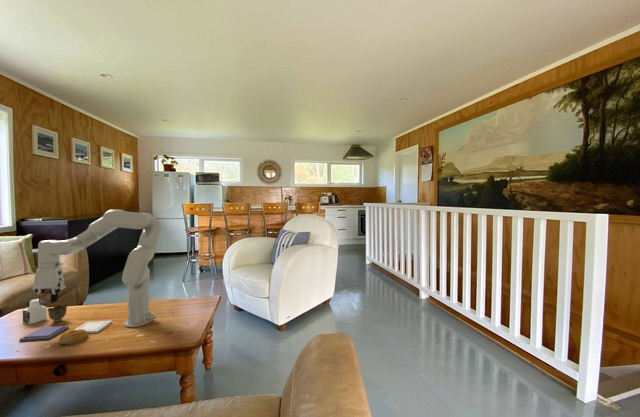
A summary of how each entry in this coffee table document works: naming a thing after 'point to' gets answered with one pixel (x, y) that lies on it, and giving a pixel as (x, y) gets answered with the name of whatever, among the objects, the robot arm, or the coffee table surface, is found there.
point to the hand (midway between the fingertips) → (48, 301)
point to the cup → (57, 313)
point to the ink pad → (44, 333)
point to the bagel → (73, 336)
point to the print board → (94, 326)
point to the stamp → (45, 297)
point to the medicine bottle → (34, 312)
